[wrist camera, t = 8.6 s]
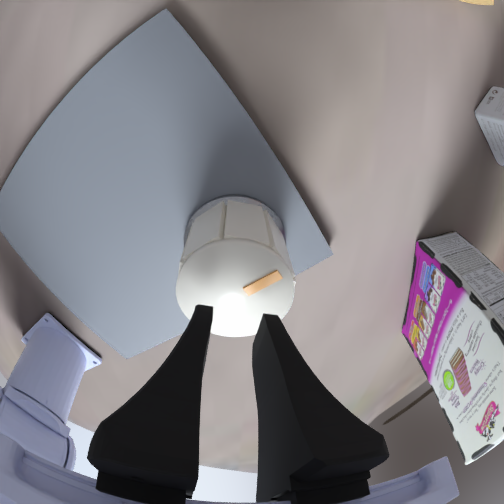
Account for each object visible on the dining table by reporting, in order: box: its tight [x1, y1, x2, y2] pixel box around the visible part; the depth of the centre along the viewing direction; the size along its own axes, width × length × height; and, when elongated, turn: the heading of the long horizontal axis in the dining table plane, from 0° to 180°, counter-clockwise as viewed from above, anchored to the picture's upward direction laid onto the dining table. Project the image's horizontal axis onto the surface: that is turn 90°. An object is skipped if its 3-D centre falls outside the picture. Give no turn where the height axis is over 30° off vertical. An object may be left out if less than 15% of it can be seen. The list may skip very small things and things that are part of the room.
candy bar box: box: [402, 232, 504, 465], centre depth 15 cm, size 11×5×16 cm, turn 12°
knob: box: [176, 200, 296, 337], centre depth 15 cm, size 6×6×5 cm
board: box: [0, 9, 333, 359], centre depth 17 cm, size 21×19×1 cm
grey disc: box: [184, 194, 286, 247], centre depth 16 cm, size 6×6×4 cm
